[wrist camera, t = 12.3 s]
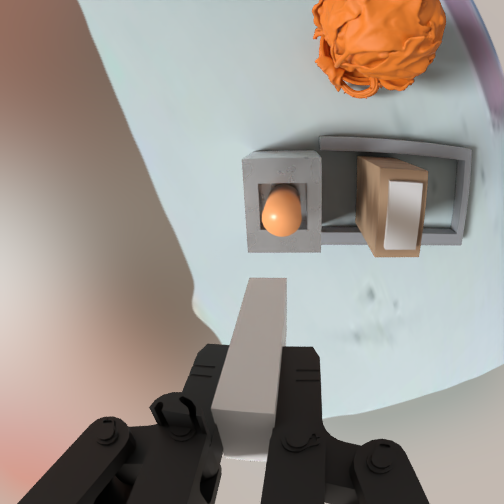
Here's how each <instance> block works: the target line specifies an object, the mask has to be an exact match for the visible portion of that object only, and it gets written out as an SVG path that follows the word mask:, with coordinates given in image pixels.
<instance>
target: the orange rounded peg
mask: <svg viewBox="0 0 504 504" xmlns="http://www.w3.org/2000/svg"><path fill="white" fill-rule="evenodd" d="M301 221H302V215H301V202H300V195H299V193H298V191H297V190H296V189H295V188H294V187H292V186H290V185H286V184H281V185H278V186H276V187H274V188H273V189H272V190H271V191H270V193H269V196H268V198H267V201H266V204H265V207H264V210H263V213H262V222H263V225H264V227H265V228H266V230H267V231H268V232H270V233H271V234H273V235H275V236H279V237H285V236H289V235H291V234H293V233H295V232H296V231H297V230H298V228H299V227H300V224H301Z"/></svg>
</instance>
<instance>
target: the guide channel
mask: <svg viewBox="0 0 504 504" xmlns="http://www.w3.org/2000/svg"><path fill="white" fill-rule="evenodd" d="M319 146H320V150H328V151H363V152H382V153H397V154H410V155H421V156H431V157H440V158H448V159H456V160H458V161H457V177H456V189H455V199H454V207H453V215H452V223H451V229H439V228H423V232H422V239H421V245H461V244H462V238H463V232H464V226H465V220H466V213H467V205H468V197H469V187H470V176H471V161H472V149H468V148H463V147H456V146H450V145H442V144H435V143H426V142H417V141H407V140H396V139H383V138H366V137H342V136H319ZM321 245H368V244H367V242H366V240H365V239H364V237H363V235H362V233H361V232H360V230H359V228H358V227H321Z"/></svg>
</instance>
